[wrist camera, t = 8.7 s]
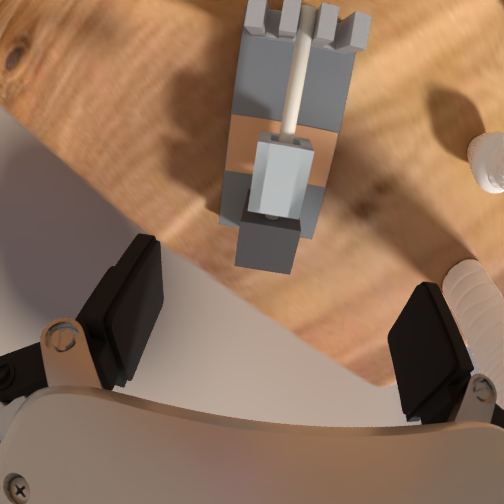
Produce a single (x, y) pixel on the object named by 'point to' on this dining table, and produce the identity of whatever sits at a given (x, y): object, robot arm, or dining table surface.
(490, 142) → the white rounded ridged piece
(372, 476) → the robot arm
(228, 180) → the board
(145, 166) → the dining table surface
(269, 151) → the sleeve
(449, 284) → the water bottle
